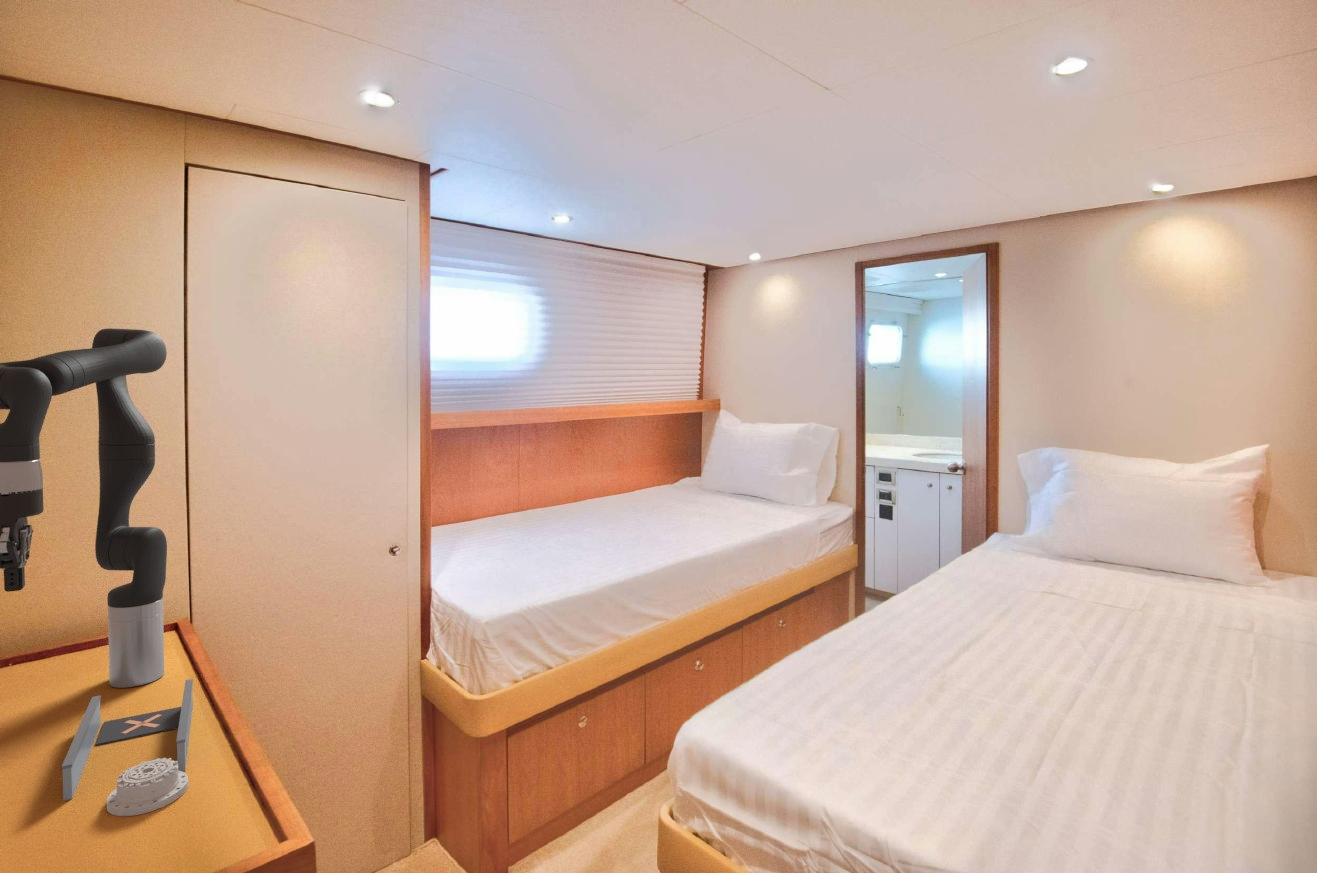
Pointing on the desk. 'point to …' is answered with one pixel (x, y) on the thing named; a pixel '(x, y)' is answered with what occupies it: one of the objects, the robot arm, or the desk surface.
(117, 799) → the mechanical component
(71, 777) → the plastic channel
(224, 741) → the desk surface
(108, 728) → the pad
